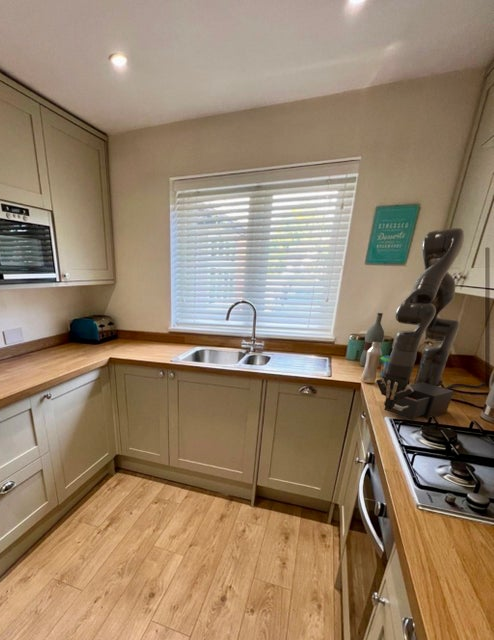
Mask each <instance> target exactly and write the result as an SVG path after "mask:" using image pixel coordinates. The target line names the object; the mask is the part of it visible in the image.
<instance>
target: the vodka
mask: <svg viewBox="0 0 494 640" xmlns="http://www.w3.org/2000/svg"><path fill="white" fill-rule="evenodd" d="M383 315H384V313H383V312H377V314H376V319H375V322H374V323H373V325H371V327H369V329H368V330H367V331H366V333H365V337H364V344H363V350H362V353H361V355H360V358H359V365H360V366H361V367H364V368H365V364H366V355H367V351H368V350H369V349H370V348H371V347H372V343H373V342H381V345H382V344H383V341H384V339H385V338H384V337H385V330H384V329H383V328H384V327H383V326H382V323H381V322H382V320H383V319H382V318H383Z"/></svg>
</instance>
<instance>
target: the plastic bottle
mask: <svg viewBox="0 0 494 640" xmlns="http://www.w3.org/2000/svg"><path fill="white" fill-rule="evenodd" d="M381 347H382V344H381V342H373V343H372V347H371V348H370V349H369V350H368V351H367V355H366V364H365V367H364V368H363V371H362V373H361V376H360V380H361V381H362V382H363V383H366V384H373V383H375V382H376V381H377V372H378V367H379V363H380V361H381V360H380V358H381V357H383V356H382V355H383V352H382V349H381Z"/></svg>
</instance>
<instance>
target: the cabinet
mask: <svg viewBox="0 0 494 640" xmlns="http://www.w3.org/2000/svg"><path fill="white" fill-rule="evenodd" d="M409 385H410V387H411V388H414V389H415V391H414V392H416V393H419V394H422V395H426V396H429V397H432V399H431V402H430V405H429V408H428V411H427V414H424V415H420V416H419V417H422V418H425V419H429V417H430V416H432V417H430V418H433V417H436V416H440V415H443V414H445V413H447V412H448V408H449V406H450V403H451V401H452V397H453V395H454V390H452V389H450V388H449V389H445V388H446V387H445V388H442V387H441V386H434V385H431V384H427V383H424V382H421V383H416V384H414V383H413V384H409ZM405 388H406V387H405ZM405 388H404V389H403V390H401V391H404V390H405Z"/></svg>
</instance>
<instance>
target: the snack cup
mask: <svg viewBox="0 0 494 640" xmlns="http://www.w3.org/2000/svg"><path fill="white" fill-rule="evenodd" d="M389 358H390V355H383V356H381V358H380V360H379V361H381V368H380V376H381V377H382V378H384V376H385V375H386V370H387V366H388V362H389Z"/></svg>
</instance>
